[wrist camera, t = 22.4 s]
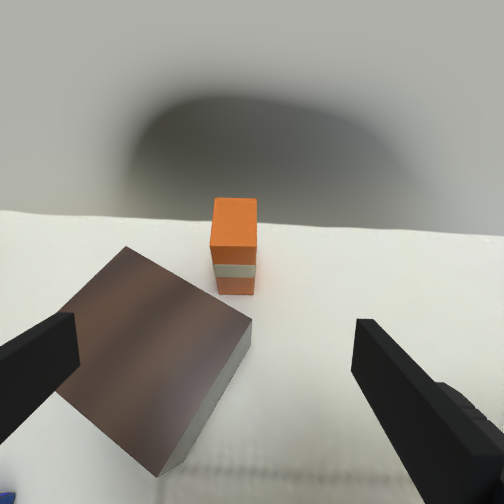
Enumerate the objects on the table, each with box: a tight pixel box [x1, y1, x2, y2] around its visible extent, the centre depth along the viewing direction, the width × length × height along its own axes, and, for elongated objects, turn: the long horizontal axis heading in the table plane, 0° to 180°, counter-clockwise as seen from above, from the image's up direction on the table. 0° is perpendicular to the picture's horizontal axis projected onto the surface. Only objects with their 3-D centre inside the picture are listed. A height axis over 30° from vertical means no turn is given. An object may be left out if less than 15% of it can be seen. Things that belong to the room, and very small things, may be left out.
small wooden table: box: [55, 246, 252, 478], centre depth 29 cm, size 17×14×10 cm
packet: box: [210, 198, 257, 295], centre depth 35 cm, size 5×7×12 cm
